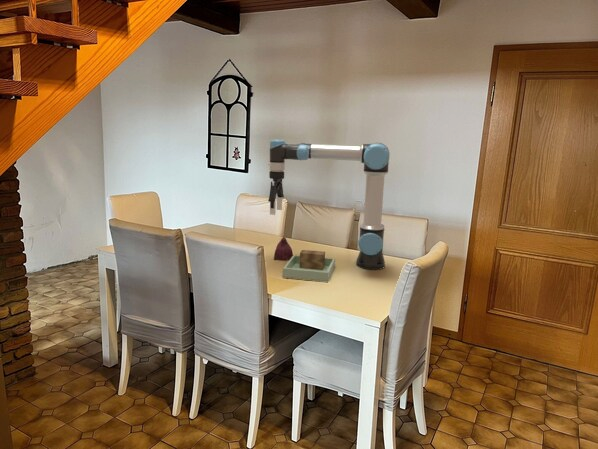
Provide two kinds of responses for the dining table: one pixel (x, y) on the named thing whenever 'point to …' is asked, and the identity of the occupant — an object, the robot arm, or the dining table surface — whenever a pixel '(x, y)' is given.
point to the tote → (308, 270)
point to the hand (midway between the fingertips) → (276, 212)
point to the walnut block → (312, 259)
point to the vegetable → (283, 251)
